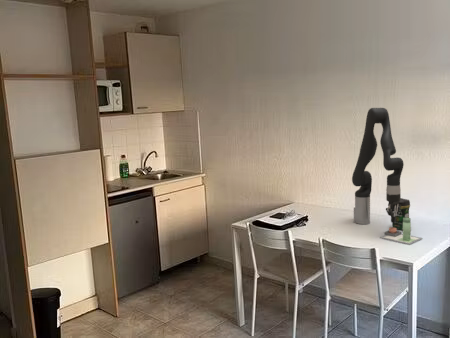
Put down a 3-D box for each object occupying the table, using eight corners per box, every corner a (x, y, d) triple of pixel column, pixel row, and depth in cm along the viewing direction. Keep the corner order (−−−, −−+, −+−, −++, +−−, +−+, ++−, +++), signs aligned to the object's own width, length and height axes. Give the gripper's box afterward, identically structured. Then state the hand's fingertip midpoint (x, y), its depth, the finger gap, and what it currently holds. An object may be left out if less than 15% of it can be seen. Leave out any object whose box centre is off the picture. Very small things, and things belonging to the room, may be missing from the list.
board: (378, 238, 253) (378, 234, 253) (392, 232, 262) (392, 229, 262) (409, 245, 239) (409, 241, 239) (422, 239, 248) (422, 235, 248)
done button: (387, 232, 256) (387, 228, 256) (391, 230, 259) (391, 226, 258) (394, 233, 253) (394, 229, 253) (397, 232, 256) (398, 228, 255)
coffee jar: (389, 227, 272) (390, 198, 269) (398, 225, 275) (399, 196, 273) (403, 231, 263) (403, 200, 260) (412, 228, 267) (412, 198, 264)
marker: (401, 239, 246) (401, 218, 245) (405, 238, 248) (405, 217, 247) (407, 241, 243) (408, 219, 241) (411, 239, 245) (412, 218, 244)
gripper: (393, 190, 259) (393, 218, 262) (381, 193, 251) (381, 223, 254) (405, 191, 254) (405, 221, 256) (393, 195, 245) (393, 225, 248)
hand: (393, 222), depth 255 cm, fingers closed
